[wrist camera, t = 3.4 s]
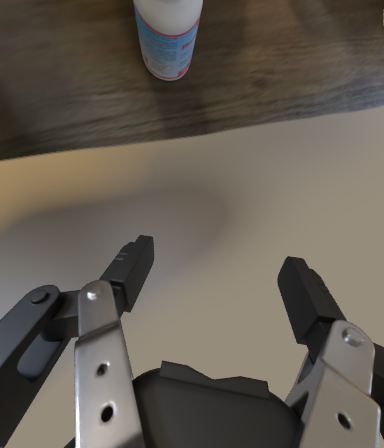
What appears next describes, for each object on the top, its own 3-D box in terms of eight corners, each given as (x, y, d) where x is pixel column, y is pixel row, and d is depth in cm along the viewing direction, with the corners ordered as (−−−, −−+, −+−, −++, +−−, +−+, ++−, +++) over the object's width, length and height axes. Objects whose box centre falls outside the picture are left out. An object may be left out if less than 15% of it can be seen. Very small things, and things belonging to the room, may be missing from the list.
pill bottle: (188, 86, 24) (209, 3, 13) (141, 78, 23) (120, -20, 12) (192, 32, 23) (219, -110, 12) (142, 20, 22) (121, -147, 11)
